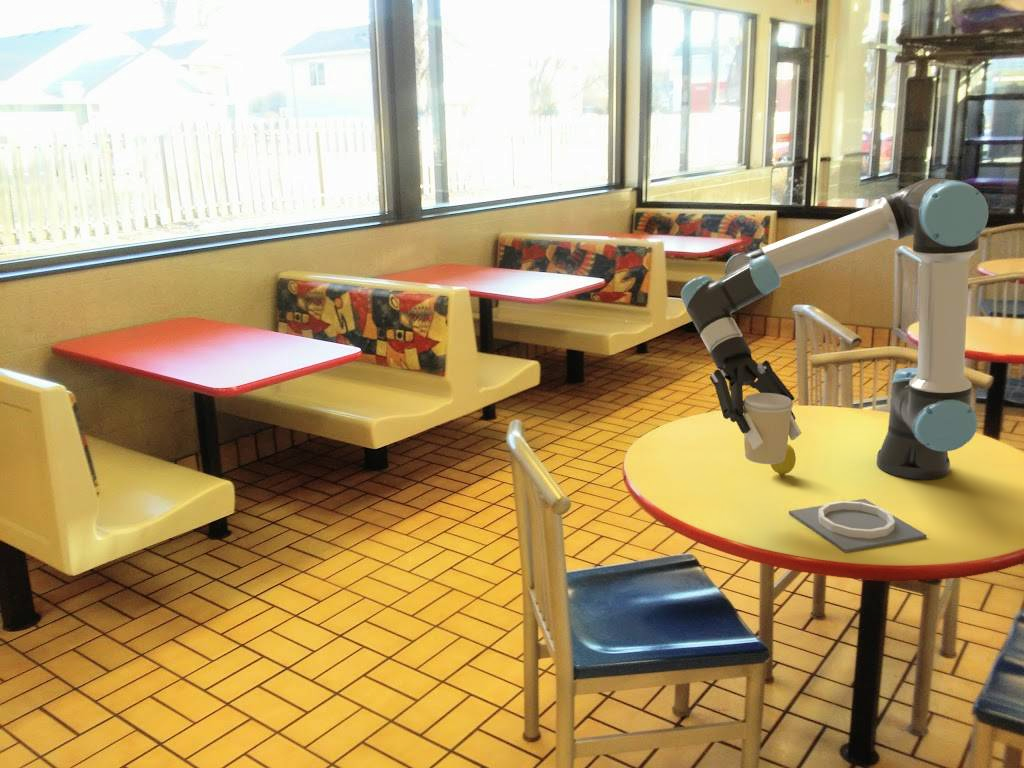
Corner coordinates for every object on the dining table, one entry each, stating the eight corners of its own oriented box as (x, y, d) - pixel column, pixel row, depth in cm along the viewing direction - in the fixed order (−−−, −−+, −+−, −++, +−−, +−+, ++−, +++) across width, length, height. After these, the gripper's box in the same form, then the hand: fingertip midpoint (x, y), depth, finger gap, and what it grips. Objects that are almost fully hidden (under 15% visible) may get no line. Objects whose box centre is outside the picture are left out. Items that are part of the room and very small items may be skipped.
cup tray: (864, 501, 186) (865, 491, 185) (926, 537, 169) (927, 527, 168) (788, 513, 181) (789, 504, 180) (844, 552, 164) (845, 542, 164)
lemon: (767, 478, 199) (769, 444, 196) (769, 469, 204) (771, 436, 201) (793, 481, 197) (796, 447, 194) (795, 472, 202) (797, 439, 199)
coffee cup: (753, 445, 183) (755, 389, 180) (797, 454, 177) (800, 397, 174) (732, 459, 176) (734, 401, 173) (777, 469, 170) (780, 409, 167)
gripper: (758, 347, 190) (809, 440, 180) (674, 362, 181) (723, 460, 171) (777, 327, 184) (830, 422, 174) (691, 342, 174) (743, 442, 165)
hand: (777, 441), depth 173 cm, fingers closed on coffee cup, 9 cm apart
